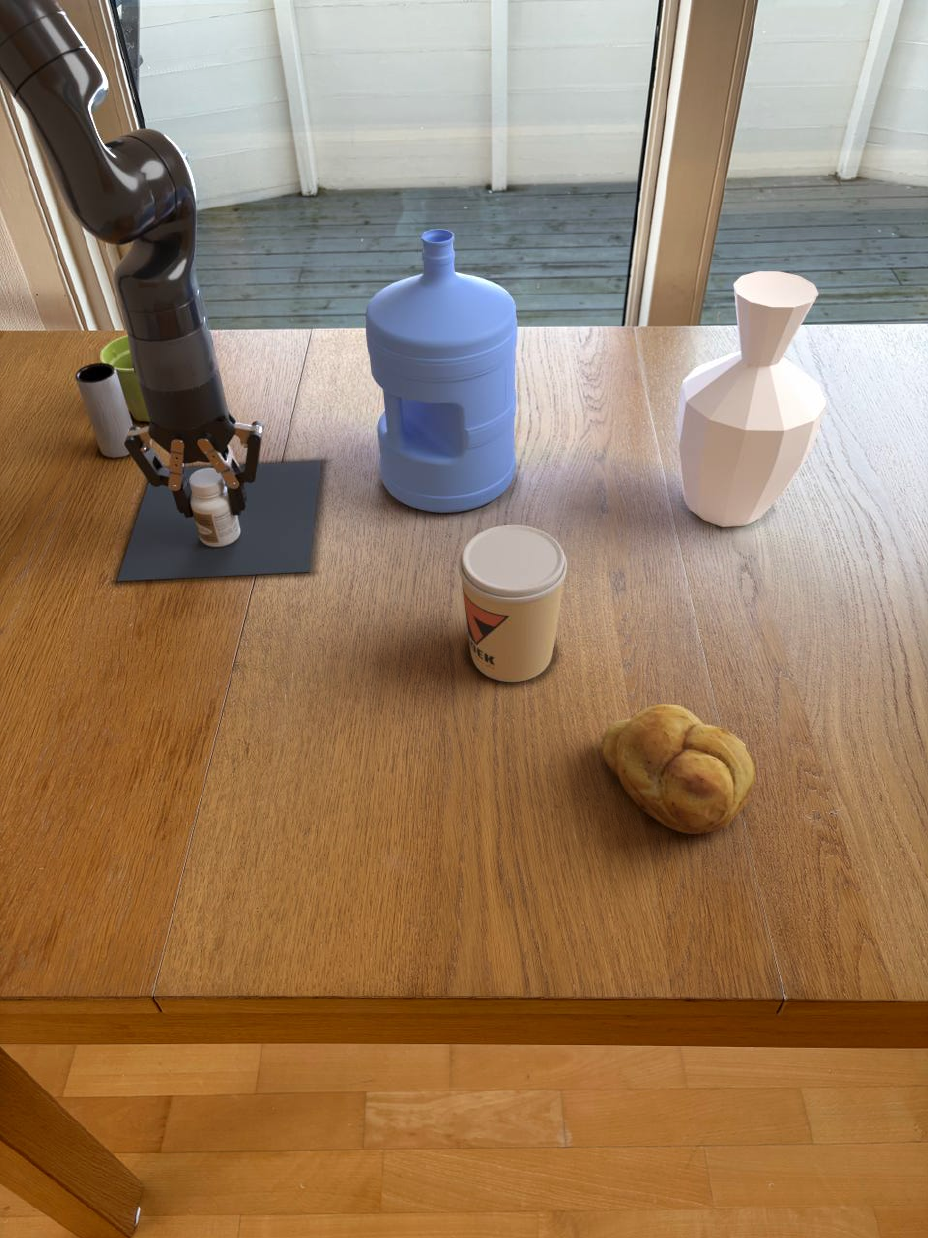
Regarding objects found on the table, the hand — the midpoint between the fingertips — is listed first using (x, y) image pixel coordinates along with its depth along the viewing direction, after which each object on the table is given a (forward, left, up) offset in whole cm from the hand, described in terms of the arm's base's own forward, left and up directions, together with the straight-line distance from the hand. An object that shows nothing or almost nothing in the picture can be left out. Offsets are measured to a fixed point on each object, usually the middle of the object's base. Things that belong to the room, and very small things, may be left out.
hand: (214, 511), depth 101 cm
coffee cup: (+30, -20, -4) cm, 36 cm away
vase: (+56, +1, -4) cm, 56 cm away
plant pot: (-12, +26, -4) cm, 29 cm away
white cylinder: (-15, +18, -4) cm, 24 cm away
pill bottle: (0, 0, -4) cm, 4 cm away
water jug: (+25, +9, -4) cm, 27 cm away
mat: (0, +3, -4) cm, 5 cm away
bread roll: (+42, -36, -4) cm, 55 cm away
